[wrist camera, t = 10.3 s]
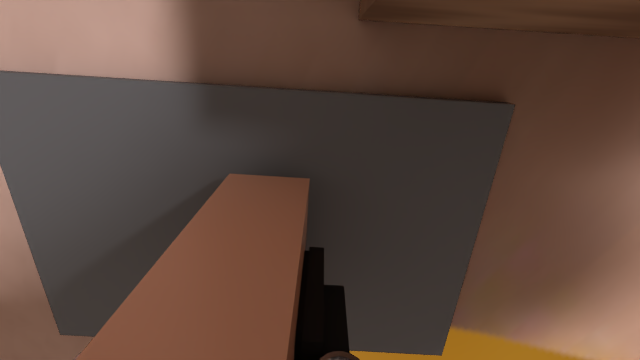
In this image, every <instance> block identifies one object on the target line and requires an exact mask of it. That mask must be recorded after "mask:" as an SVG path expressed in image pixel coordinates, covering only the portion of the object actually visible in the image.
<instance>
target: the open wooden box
mask: <svg viewBox="0 0 640 360" xmlns="http://www.w3.org/2000/svg"><path fill="white" fill-rule="evenodd" d="M358 20H369V21H384V22H399V23H414V24H430V25H445V26H460V27H475V28H491V29H506V30H521V31H536V32H552V33H567V34H582V35H598V36H613V37H628V38H640V0H360V9H359V19H358Z"/></svg>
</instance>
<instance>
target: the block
mask: <svg viewBox="0 0 640 360" xmlns="http://www.w3.org/2000/svg"><path fill="white" fill-rule="evenodd" d="M309 183H310V178H294V177H278V176H261V175H245V174H229V175H228V176H227V177H226V178H225V180H224V181H223V182H222V183H221V184H220V186H219V187H218V188H217V189H216V190H215V192H214V193H213V194H212V195H211V197H210V198H209V199H208V200H207V201H206V203H205V204H204V205H203V206H202V207H201V209H200V210H199V211H198V212H197V213H196V215H195V216H194V217H193V218H192V220H191V221H190V222H189V223H188V224H187V226H186V227H185V228H184V229H183V230H182V232H181V233H180V234H179V235H178V236H177V238H176V239H175V240H174V241H173V242H172V244H171V245H170V246H169V247H168V249H167V250H166V251H165V252H164V253H163V255H162V256H161V257H160V258H159V259H158V261H157V262H156V263H155V264H154V265H153V267H152V268H151V269H150V270H149V272H148V273H147V274H146V275H145V276H144V278H143V279H142V280H141V281H140V282H139V284H138V285H137V286H136V287H135V288H134V290H133V291H132V292H131V293H130V294H129V296H128V297H127V298H126V299H125V301H124V302H123V303H122V304H121V305H120V307H119V308H118V309H117V310H116V311H115V313H114V314H113V315H112V316H111V317H110V319H109V320H108V321H107V322H106V324H105V325H104V326H103V327H102V328H101V330H100V331H99V332H98V333H97V334H96V336H95V337H94V338H93V339H92V340H91V342H90V343H89V344H88V345H87V346H86V348H85V349H84V350H83V351H82V353H81V354H80V355H79V356H78V357H77V359H76V360H294V353H295V336H296V326H297V317H298V307H299V298H300V289H301V279H302V270H303V261H304V251H305V250H306V243H307V223H308V203H309Z"/></svg>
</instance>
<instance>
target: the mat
mask: <svg viewBox="0 0 640 360" xmlns="http://www.w3.org/2000/svg"><path fill="white" fill-rule="evenodd" d="M514 107H515V105H514V104H510V103H506V102H490V101H474V100H458V99H443V98H427V97H411V96H395V95H379V94H363V93H347V92H331V91H316V90H300V89H284V88H268V87H252V86H236V85H220V84H205V83H189V82H173V81H157V80H141V79H125V78H109V77H94V76H78V75H62V74H46V73H30V72H14V71H0V165H1V168H2V171H3V173H4V176H5V179H6V182H7V185H8V188H9V190H10V193H11V196H12V199H13V202H14V205H15V208H16V210H17V213H18V216H19V219H20V222H21V225H22V227H23V230H24V233H25V236H26V239H27V242H28V244H29V247H30V250H31V253H32V256H33V259H34V261H35V264H36V267H37V270H38V273H39V276H40V279H41V281H42V284H43V287H44V290H45V293H46V296H47V298H48V301H49V304H50V307H51V310H52V313H53V315H54V318H55V321H56V324H57V327H58V330H59V333H60V335H74V336H92V337H95V336H96V334H97V333H98V332H99V331H100V330H101V328H102V327H103V326H104V325H105V324H106V322H107V321H108V320H109V319H110V317H111V316H112V315H113V314H114V313H115V311H116V310H117V309H118V308H119V307H120V305H121V304H122V303H123V302H124V301H125V299H126V298H127V297H128V296H129V294H130V293H131V292H132V291H133V290H134V288H135V287H136V286H137V285H138V284H139V282H140V281H141V280H142V279H143V278H144V276H145V275H146V274H147V273H148V272H149V270H150V269H151V268H152V267H153V265H154V264H155V263H156V262H157V261H158V259H159V258H160V257H161V256H162V255H163V253H164V252H165V251H166V250H167V249H168V247H169V246H170V245H171V244H172V242H173V241H174V240H175V239H176V238H177V236H178V235H179V234H180V233H181V232H182V230H183V229H184V228H185V227H186V226H187V224H188V223H189V222H190V221H191V220H192V218H193V217H194V216H195V215H196V213H197V212H198V211H199V210H200V209H201V207H202V206H203V205H204V204H205V203H206V201H207V200H208V199H209V198H210V197H211V195H212V194H213V193H214V192H215V190H216V189H217V188H218V187H219V186H220V184H221V183H222V182H223V181H224V180H225V178H226V177H227V176H228V175H229V174H245V175H261V176H278V177H294V178H310V183H309V203H308V223H307V243H306V251H309V247H323V248H324V285H340V286H344V292H345V304H346V316H347V328H348V340H349V351H350V350H351V351H368V352H387V353H405V354H423V355H442V352H443V349H444V346H445V342H446V339H447V335H448V332H449V329H450V325H451V322H452V318H453V315H454V312H455V308H456V305H457V301H458V298H459V295H460V291H461V288H462V284H463V281H464V277H465V274H466V271H467V267H468V264H469V260H470V257H471V254H472V250H473V247H474V243H475V240H476V237H477V233H478V230H479V226H480V223H481V220H482V216H483V213H484V209H485V206H486V202H487V199H488V196H489V192H490V189H491V185H492V182H493V179H494V175H495V172H496V168H497V165H498V162H499V158H500V155H501V151H502V148H503V145H504V141H505V138H506V134H507V131H508V127H509V124H510V121H511V117H512V114H513V110H514Z"/></svg>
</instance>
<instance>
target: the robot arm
mask: <svg viewBox="0 0 640 360" xmlns="http://www.w3.org/2000/svg"><path fill="white" fill-rule="evenodd" d="M81 353H82V352H81ZM81 353H80V354H81ZM80 354H78V355H77V356H76V357H75V358H74V359H73V360H76V359H77V357H78V356H79V355H80ZM294 360H359V359H358V358H357V357H355V356H354V355H352V354H350V352H349V340H348V328H347V316H346V304H345V292H344V286H340V285H324V248H323V247H309V251H306V250H305V251H304V261H303V270H302V279H301V289H300V298H299V307H298V317H297V326H296V336H295V353H294Z"/></svg>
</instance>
